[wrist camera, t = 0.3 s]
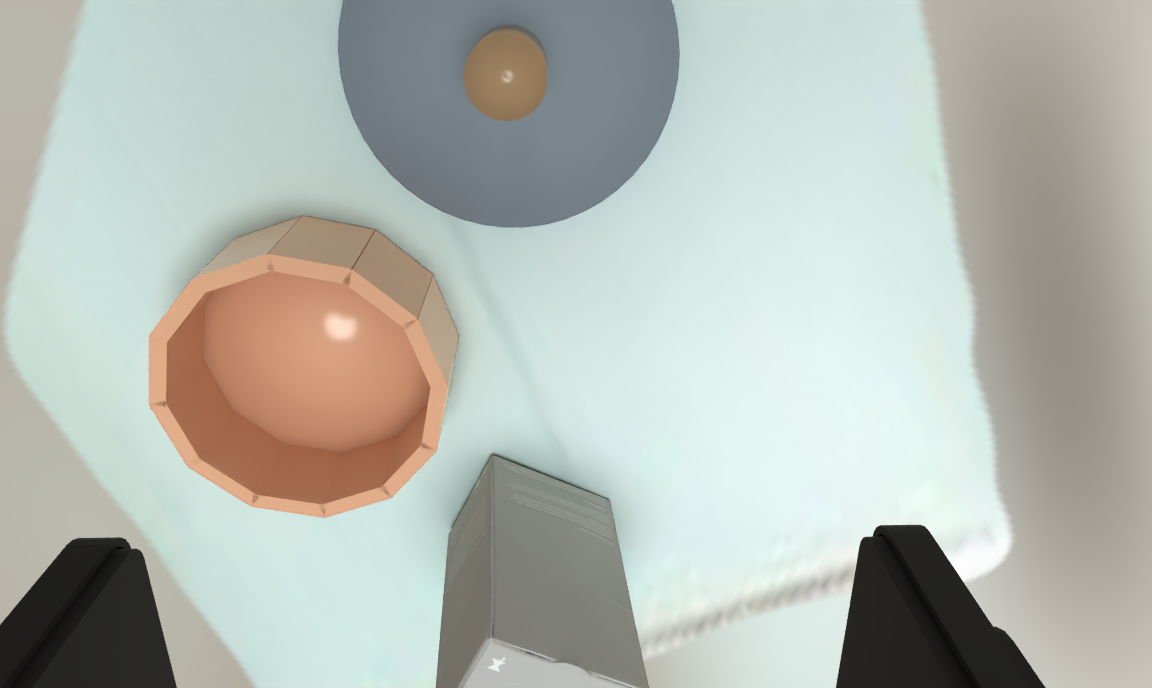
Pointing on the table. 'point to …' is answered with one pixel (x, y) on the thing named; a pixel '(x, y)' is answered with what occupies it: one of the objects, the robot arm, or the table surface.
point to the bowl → (305, 368)
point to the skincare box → (536, 589)
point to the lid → (510, 99)
